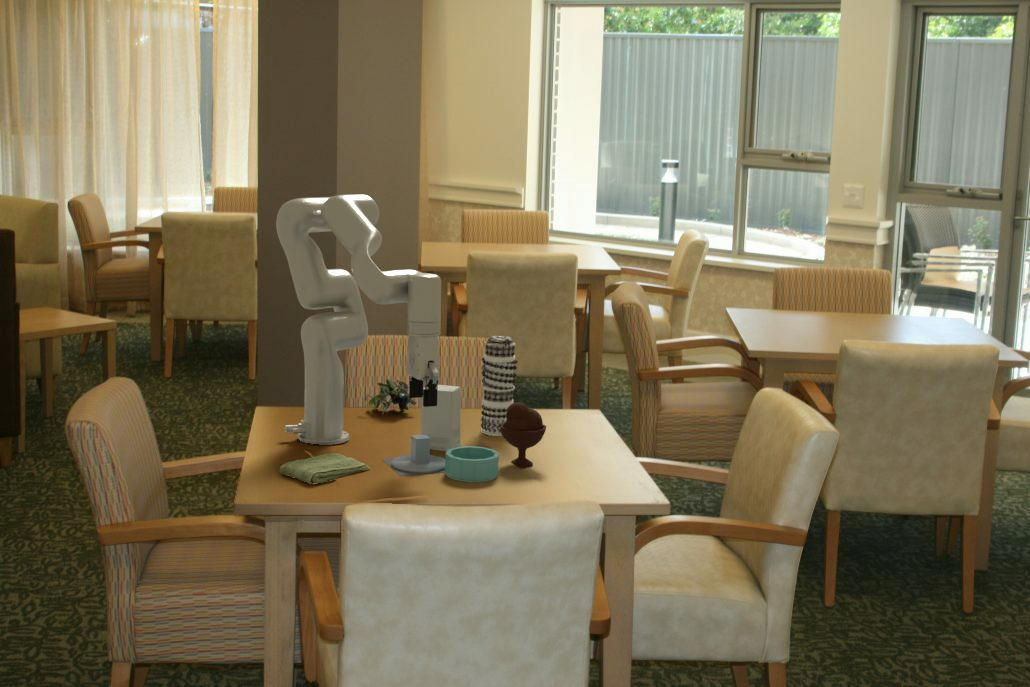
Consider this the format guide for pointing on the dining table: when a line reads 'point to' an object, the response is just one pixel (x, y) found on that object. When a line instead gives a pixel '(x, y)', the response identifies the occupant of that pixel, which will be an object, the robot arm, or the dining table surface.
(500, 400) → the decorative candle
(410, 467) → the lid
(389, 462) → the mat
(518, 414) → the ice cream bowl
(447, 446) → the skincare box
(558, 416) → the dining table surface
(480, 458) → the bowl
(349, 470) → the washcloth
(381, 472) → the dining table surface
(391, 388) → the green leafy plant
